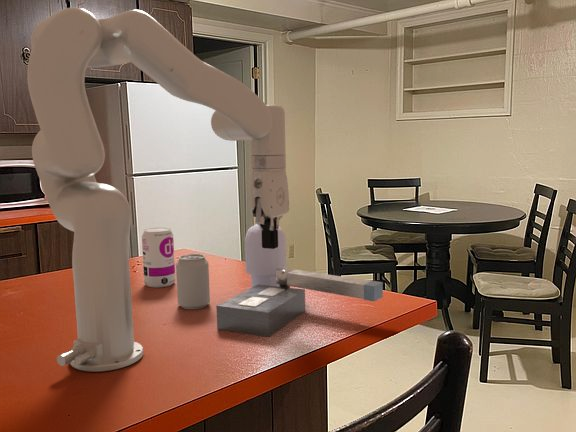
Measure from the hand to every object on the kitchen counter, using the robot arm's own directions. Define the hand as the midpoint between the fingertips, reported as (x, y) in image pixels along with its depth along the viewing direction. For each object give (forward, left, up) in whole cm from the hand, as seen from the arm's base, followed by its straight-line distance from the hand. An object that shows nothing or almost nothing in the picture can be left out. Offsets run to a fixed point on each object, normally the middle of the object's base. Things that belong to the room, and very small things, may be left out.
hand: (270, 247), depth 123 cm
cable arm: (+5, -11, -10) cm, 15 cm away
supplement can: (+12, +40, -15) cm, 44 cm away
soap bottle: (+15, +9, -15) cm, 23 cm away
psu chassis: (-2, 0, -15) cm, 15 cm away
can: (-1, +20, -15) cm, 25 cm away
